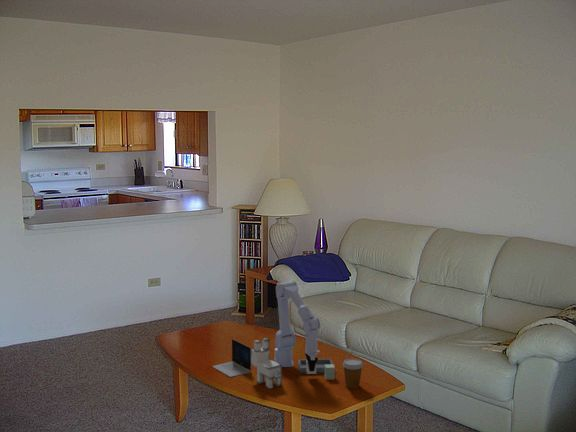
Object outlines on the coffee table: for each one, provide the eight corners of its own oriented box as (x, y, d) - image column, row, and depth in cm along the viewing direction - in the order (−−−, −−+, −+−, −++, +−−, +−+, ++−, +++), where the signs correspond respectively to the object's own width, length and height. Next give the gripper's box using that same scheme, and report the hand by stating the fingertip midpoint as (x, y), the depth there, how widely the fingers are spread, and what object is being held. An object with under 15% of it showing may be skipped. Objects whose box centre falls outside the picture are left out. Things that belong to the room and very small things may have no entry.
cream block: (307, 373, 320) (307, 362, 319) (306, 370, 324) (306, 358, 323) (316, 373, 320) (316, 361, 319) (315, 370, 324) (315, 358, 324)
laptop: (211, 367, 338) (211, 343, 336) (232, 362, 345) (232, 338, 343) (230, 378, 323) (229, 352, 321) (251, 372, 331) (251, 347, 329)
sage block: (325, 379, 320) (325, 367, 320) (324, 376, 325) (324, 364, 324) (334, 379, 321) (334, 367, 320) (333, 375, 325) (333, 364, 324)
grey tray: (300, 373, 328) (300, 368, 327) (298, 365, 340) (298, 359, 339) (333, 372, 329) (334, 367, 329) (330, 364, 341) (330, 358, 340)
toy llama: (272, 390, 307) (271, 349, 305) (251, 379, 321) (250, 339, 318) (284, 386, 312) (284, 346, 309) (263, 375, 326) (263, 336, 323)
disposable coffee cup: (357, 391, 306) (357, 366, 304) (339, 387, 311) (339, 363, 309) (366, 384, 314) (366, 360, 312) (348, 380, 319) (348, 357, 317)
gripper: (321, 347, 313) (321, 374, 315) (317, 337, 327) (317, 363, 329) (306, 347, 313) (306, 374, 314) (303, 337, 327) (303, 364, 329)
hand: (311, 369), depth 322 cm, fingers closed on cream block, 4 cm apart
